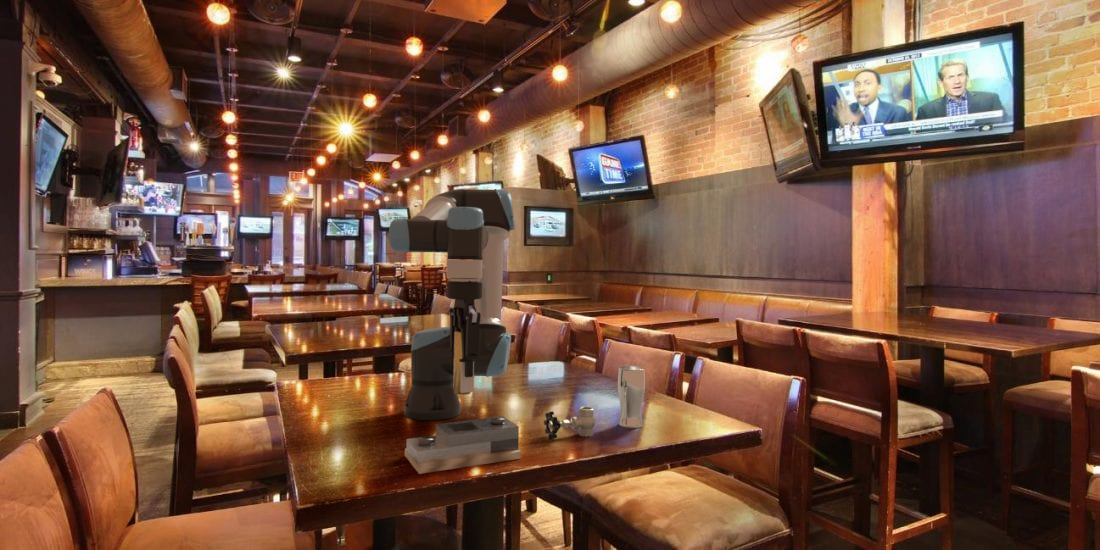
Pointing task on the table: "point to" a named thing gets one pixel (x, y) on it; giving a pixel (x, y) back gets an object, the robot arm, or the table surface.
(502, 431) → the stepped bolted base plate
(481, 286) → the robot arm
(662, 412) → the table surface
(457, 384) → the brass pin
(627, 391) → the beer glass
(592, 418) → the valve
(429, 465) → the board
